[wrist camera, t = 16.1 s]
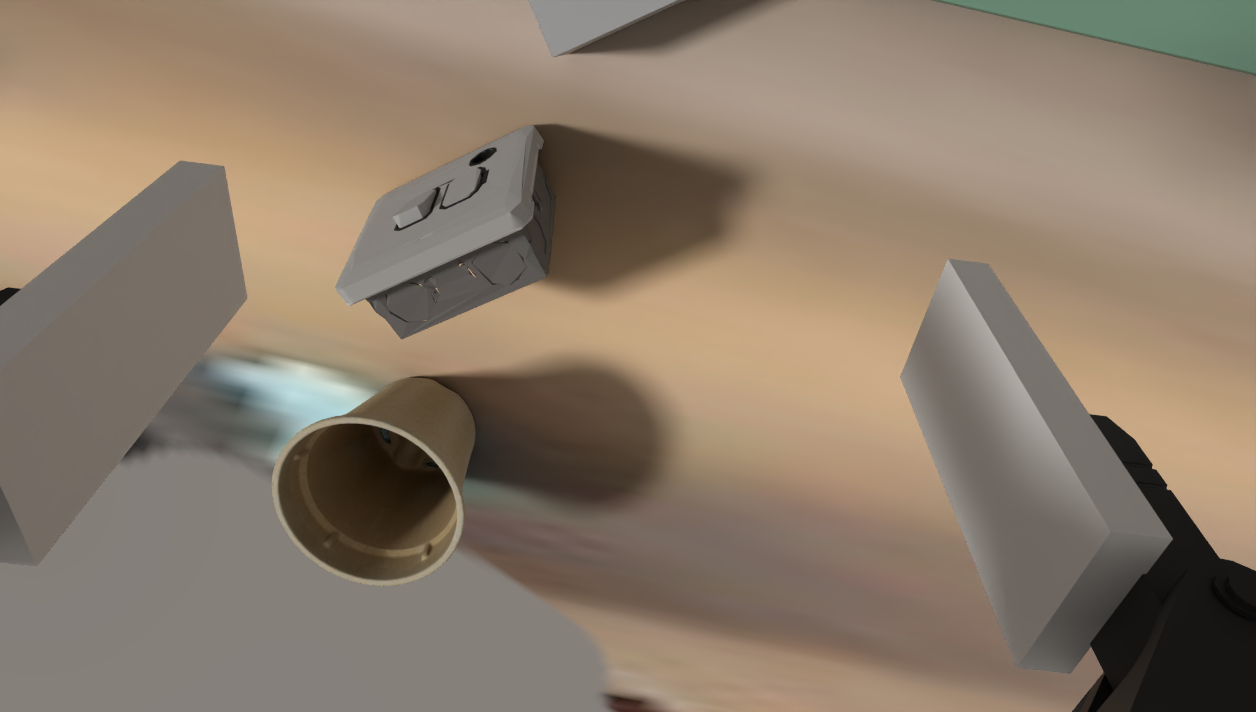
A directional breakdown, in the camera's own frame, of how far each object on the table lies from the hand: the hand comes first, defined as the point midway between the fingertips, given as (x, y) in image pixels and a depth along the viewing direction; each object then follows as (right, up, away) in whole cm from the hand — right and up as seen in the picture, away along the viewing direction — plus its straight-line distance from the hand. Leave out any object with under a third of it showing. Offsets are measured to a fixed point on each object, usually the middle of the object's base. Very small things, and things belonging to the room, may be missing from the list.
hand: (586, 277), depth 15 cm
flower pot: (-11, -5, +32) cm, 34 cm away
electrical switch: (-7, +6, +27) cm, 28 cm away
